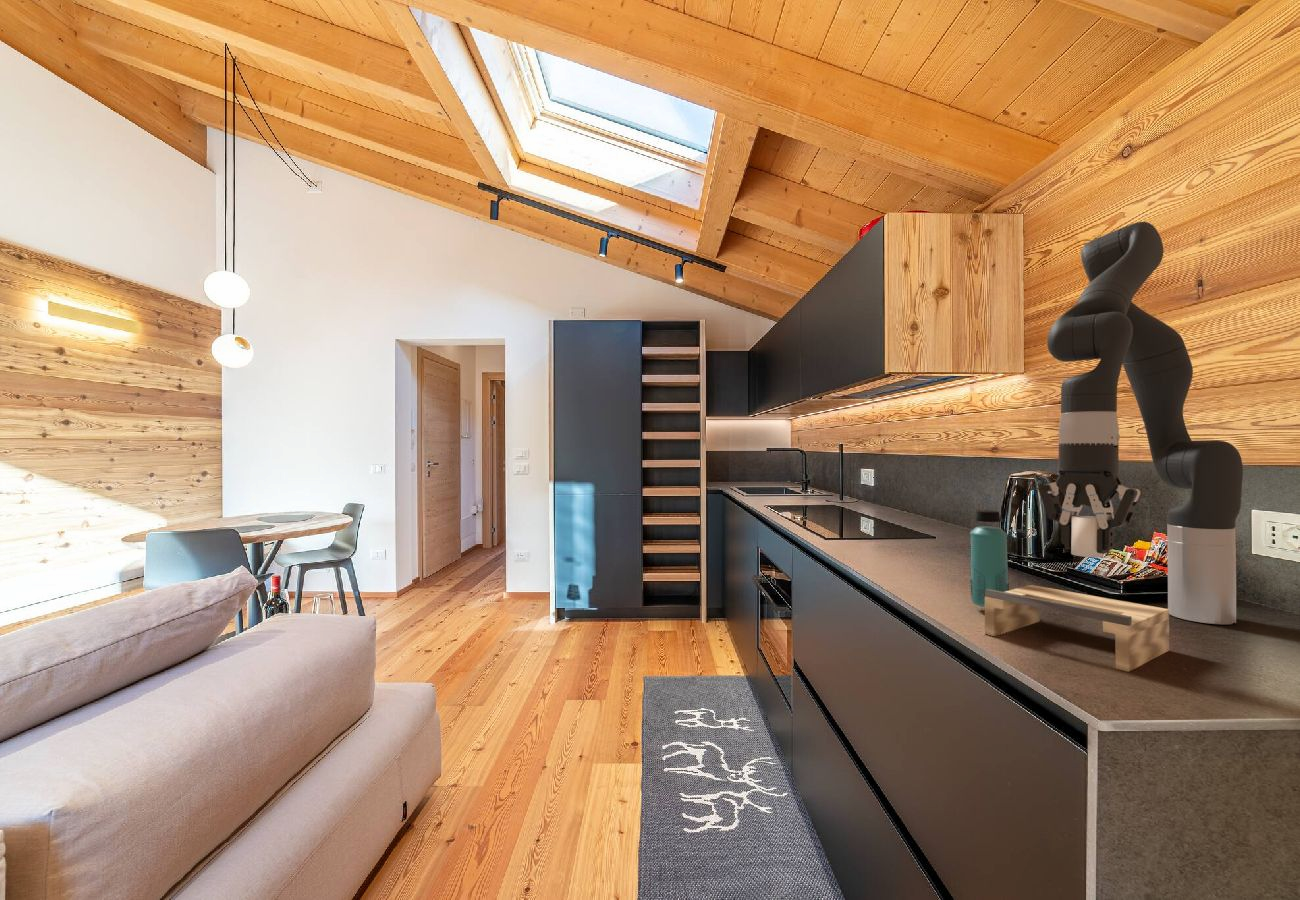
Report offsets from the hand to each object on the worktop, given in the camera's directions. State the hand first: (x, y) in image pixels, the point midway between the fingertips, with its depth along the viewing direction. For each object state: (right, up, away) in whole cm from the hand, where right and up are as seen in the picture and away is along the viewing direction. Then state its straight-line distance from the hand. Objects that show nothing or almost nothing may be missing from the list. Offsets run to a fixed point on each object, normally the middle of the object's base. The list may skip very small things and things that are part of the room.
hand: (1086, 550), depth 90 cm
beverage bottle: (-2, -16, +23) cm, 28 cm away
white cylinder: (0, -1, 0) cm, 1 cm away
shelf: (+1, -16, +5) cm, 17 cm away
